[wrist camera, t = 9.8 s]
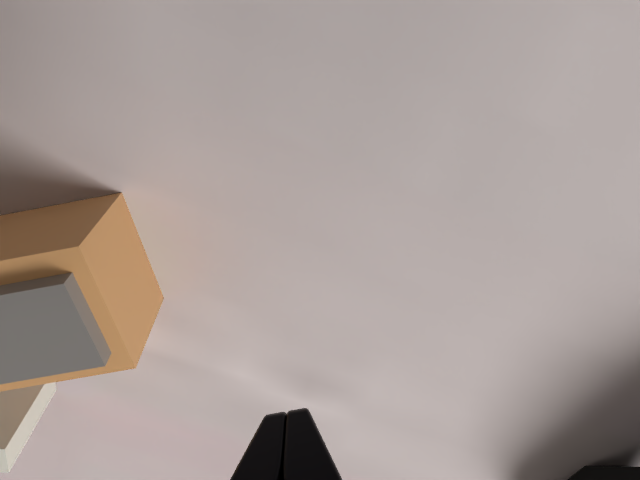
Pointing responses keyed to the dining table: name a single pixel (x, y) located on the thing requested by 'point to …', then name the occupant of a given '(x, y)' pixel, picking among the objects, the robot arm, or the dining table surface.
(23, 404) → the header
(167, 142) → the dining table surface
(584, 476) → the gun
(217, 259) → the dining table surface
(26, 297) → the orange base grey top
